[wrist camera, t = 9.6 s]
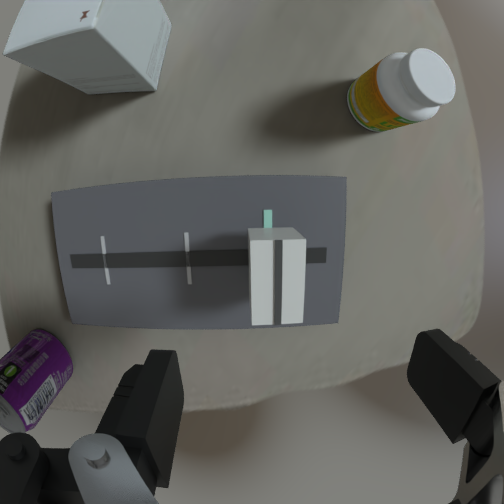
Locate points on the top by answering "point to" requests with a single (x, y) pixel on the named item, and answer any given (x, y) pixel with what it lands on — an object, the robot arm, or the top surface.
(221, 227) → the console
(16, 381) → the beverage can
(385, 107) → the supplement bottle
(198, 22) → the top surface
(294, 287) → the fader knob
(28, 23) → the supplement box
